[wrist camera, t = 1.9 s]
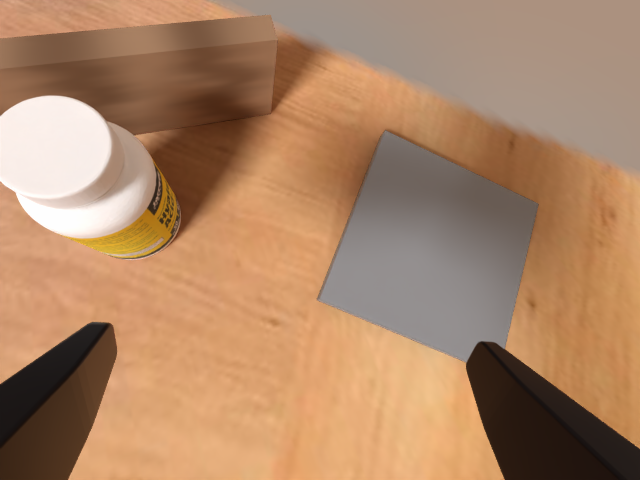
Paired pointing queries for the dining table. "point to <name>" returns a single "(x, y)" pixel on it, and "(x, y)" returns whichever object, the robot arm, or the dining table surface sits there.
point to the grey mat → (431, 251)
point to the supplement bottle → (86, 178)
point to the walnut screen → (149, 71)
